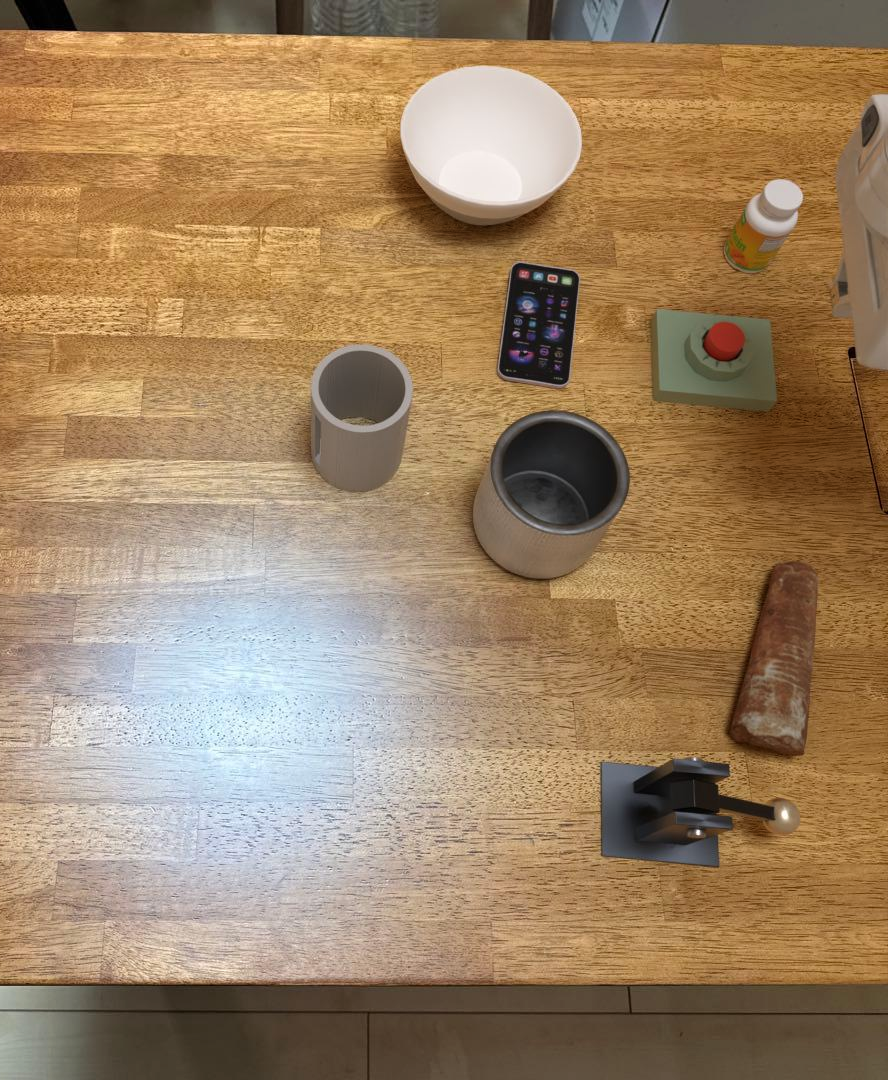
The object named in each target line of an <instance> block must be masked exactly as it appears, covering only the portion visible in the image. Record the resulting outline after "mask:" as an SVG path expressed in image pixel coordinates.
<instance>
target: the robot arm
mask: <svg viewBox="0 0 888 1080" xmlns="http://www.w3.org/2000/svg"><path fill="white" fill-rule="evenodd" d="M836 163H837V164H836V168H835V174H834V182H835V188H836V189H835V190H836V196H837V206H838V215H839V222H840V231H841V240H842V249H843V250H842V253H841V257H840V260H839V263H838V267H837V271H836V275H835V277H834V278H833V280H832V281H831V282H830V284H829V285H828V289H829V297H830V307H831V316H832V317H834V318H839V319H850V318H851V324H852V332H853V340H854V349H855V358H856V362H857V364H858V365H859V366H862V367H865V368H869V369H874V370H881V371H882V370H883V371H888V93H881V94H880V93H879V94H877V93H876V94H872V95H871V96H869V98H868V99H867V101H866V103H865V104H864V106H863V108H862V110H861V113H860V120H859V121H858V123H857V124H856V126H855V127H854V129H853V131H852V132H851V134H850V136H849V138H848V139H847V141H846V143H845V145H844V146H843V149H842V151H841V153H840V155H839V157H838V159H837V162H836Z"/></svg>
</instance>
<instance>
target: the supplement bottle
mask: <svg viewBox="0 0 888 1080" xmlns="http://www.w3.org/2000/svg"><path fill="white" fill-rule="evenodd" d="M803 200H804V195H803V191H802V190H801V188H800V187H799V186H798V184H796V183H795V182H793V181H791V180H788V179H783V178H780V179H779V178H776V179H773V180H771V181H769V182H768V183H767V184H766V185H765V187H764V188H763V190H762V191H761V192H760V193H757V194H756V195H754V196H753V197H752V198H751V199H750V200H749V201H748V202H747V204H746V206H745V208H744V210H743V211H742V213H741V214H740V216H739V218H738V220H737V221H736V223H735V225H734V227H733V229H732V230H731V232H730V234H729V236H728V238H727V239H726V241H725V243H724V245H723V256H724V255H725V256H724V259H725V260H726V262H727V263H728V264H729V266H731V267H732V268H733V269H735V270H736V269H737V270H736V271H738V270H739V272H741V273H744V274H758V273H761V272H763V271H764V270H766V269H767V268H768V267H770V265H771V264H772V262H773V261H774V260H775V257H776V256H777V255H778V253H779V251H780V250H781V248H782V247H783V246H784V243H786V241H787V239H788V237H789V236H790V234H791V233H792V232H793V230H794V228H795V226H796V225H797V223H798V219H799V212H798V210H799V208H800V207H801V205H802V203H803Z"/></svg>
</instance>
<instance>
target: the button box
mask: <svg viewBox="0 0 888 1080" xmlns="http://www.w3.org/2000/svg"><path fill="white" fill-rule="evenodd" d="M649 322H650V349H651V351H650V354H651V379H652V380H651V381H652V383H651V384H652V401H653V402H660V403H671V404H680V405H682V404H683V405H691V406H703V407H712V408H724V409H735V410H745V411H755V412H765V413H766V412H770V411H771V409H772V408H773V407H774V406H775V405H776V403H777V402H778V393H777V384H776V383H777V382H776V373H775V360H774V359H775V358H774V349H773V338H772V337H773V336H772V327H771V319H769V318H757V317H746V316H738V315H737V316H736V315H727V314H714V313H705V312H695V311H684V310H683V311H682V310H672V309H661V308H656V309H655V311H654V314H653V315H652V317H651V319H650V321H649ZM719 322H730V323H733V324H735V325H737V326H738V327H739V328H740V329H741V330H742V331H743V333H744V336H745V343H744V345H743V347H742V348H741V350H740V351H739V353H738V354H737V355H736V357H735V358H733V359H731V360H729V361H719V360H716V359H714V358H712V357H711V356H709V355H708V354H707V352H706V351H705V349H704V339H705V337H706V336H707V334H708V332H709V331H710V329H711V328H712V326H713V325H715V324H717V323H719Z"/></svg>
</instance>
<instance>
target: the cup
mask: <svg viewBox="0 0 888 1080" xmlns="http://www.w3.org/2000/svg"><path fill="white" fill-rule="evenodd" d="M310 381H311V382H310V455H311V460H312V463H313V466H314V468H315V470H316V471H317V473H318V474H319V476H321V478H323V480H325V482H327V483H328V484H330V485H331V486H333V487H335V488H338V489H340V490H343V491H346V492H351V493H362V492H369V491H372V490H376V489H377V488H380V487H383V486H384V485H385V484H386V483H388V482H389V481H390V480H392V478H393V477H394V476H395V475H396V474H397V472H398V470H399V468H400V466H401V463H402V460H403V454H404V448H405V442H406V438H407V437H406V436H407V432H408V431H407V430H408V427H409V426H408V424H409V419H410V414H411V409H412V408H411V407H412V402H413V395H414V386H413V385H414V383H413V379H412V376H411V374H410V372H409V369H408V368H407V366H406V365H405V364H404V363H403V361H402V360H401V359H399V357H397V356H396V355H395V354H394V353H393V352H390V351H388V350H387V349H384V348H382V347H379V346H375V345H371V344H367V343H366V344H349V345H345V346H342V347H340V348H337V349H334V350H333V351H332V352H330V353H328V354H327V355H326V356H325V357H324V358H323V359H322V360H321V361H320V362H319V363H318V364H317V365H316V368H315V370H314V372H313V374H312V377H311V380H310ZM348 418H364V419H368V420H372V421H373V422H376V423H374V424H369V425H357V424H353V423H352V424H351V423H348V422H345V421H343V420H344V419H348Z"/></svg>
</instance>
